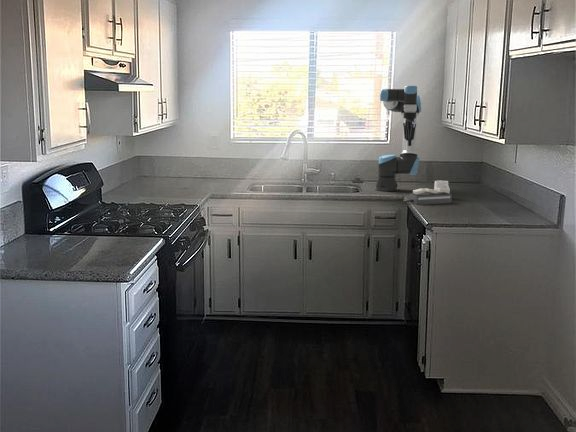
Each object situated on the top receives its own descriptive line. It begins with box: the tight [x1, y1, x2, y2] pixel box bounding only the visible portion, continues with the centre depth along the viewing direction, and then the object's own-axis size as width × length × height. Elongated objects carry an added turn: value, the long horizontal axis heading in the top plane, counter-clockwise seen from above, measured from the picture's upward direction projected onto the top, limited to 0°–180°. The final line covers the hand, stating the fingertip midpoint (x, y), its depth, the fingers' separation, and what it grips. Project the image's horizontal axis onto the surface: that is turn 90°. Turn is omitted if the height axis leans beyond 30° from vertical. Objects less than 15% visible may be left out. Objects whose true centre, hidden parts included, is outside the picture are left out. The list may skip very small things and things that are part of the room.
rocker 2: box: [424, 187, 438, 193], centre depth 383 cm, size 5×6×2 cm
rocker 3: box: [436, 188, 449, 193], centre depth 386 cm, size 5×6×2 cm
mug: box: [433, 179, 451, 194], centre depth 399 cm, size 12×8×10 cm
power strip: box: [402, 192, 453, 206], centre depth 383 cm, size 9×29×5 cm, turn 106°
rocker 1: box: [412, 187, 427, 194], centre depth 381 cm, size 5×6×2 cm
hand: (408, 151), depth 391 cm, fingers closed
